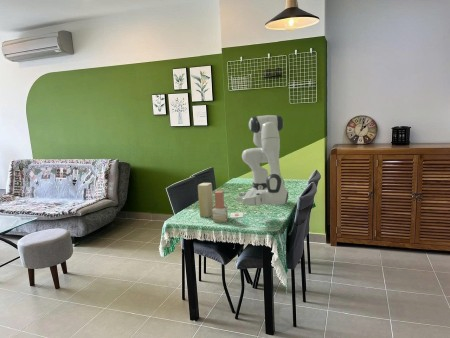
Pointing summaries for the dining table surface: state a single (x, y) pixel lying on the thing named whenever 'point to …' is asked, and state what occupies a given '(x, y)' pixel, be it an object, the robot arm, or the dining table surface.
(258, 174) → the robot arm
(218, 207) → the tall brick
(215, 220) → the tower base
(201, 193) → the tall beige pillar
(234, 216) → the page
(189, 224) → the dining table surface
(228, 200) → the dining table surface
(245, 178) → the dining table surface
